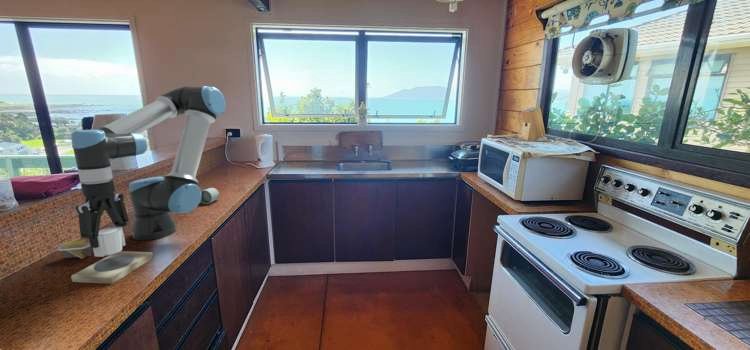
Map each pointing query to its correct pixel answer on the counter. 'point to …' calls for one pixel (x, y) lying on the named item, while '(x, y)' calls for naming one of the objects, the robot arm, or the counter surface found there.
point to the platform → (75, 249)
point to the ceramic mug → (209, 195)
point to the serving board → (112, 267)
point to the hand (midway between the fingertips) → (110, 250)
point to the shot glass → (111, 240)
